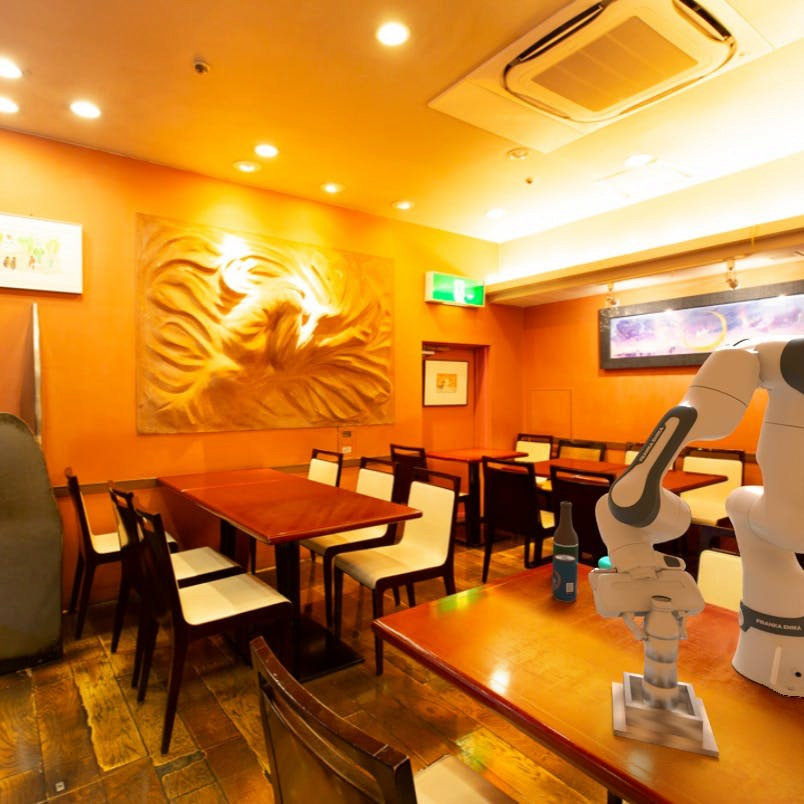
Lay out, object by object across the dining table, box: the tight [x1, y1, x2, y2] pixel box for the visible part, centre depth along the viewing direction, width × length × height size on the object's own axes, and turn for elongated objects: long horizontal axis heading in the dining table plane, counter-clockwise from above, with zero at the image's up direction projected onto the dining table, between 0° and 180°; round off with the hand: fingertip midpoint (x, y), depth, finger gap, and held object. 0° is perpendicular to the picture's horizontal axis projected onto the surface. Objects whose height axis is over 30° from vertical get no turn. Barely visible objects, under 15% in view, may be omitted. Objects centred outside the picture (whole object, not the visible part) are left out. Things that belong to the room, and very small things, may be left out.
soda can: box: [551, 554, 579, 603], centre depth 152 cm, size 7×7×12 cm
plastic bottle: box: [641, 595, 681, 712], centre depth 96 cm, size 6×7×20 cm
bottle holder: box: [611, 671, 720, 758], centre depth 97 cm, size 16×16×4 cm
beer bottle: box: [552, 501, 579, 577], centre depth 170 cm, size 8×8×24 cm
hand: (662, 639), depth 96 cm, fingers closed on plastic bottle, 6 cm apart
